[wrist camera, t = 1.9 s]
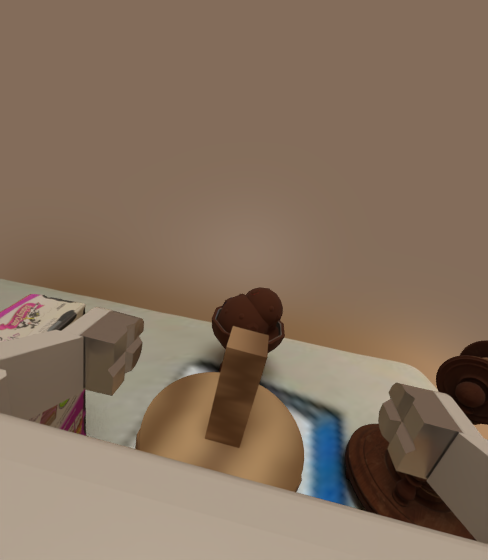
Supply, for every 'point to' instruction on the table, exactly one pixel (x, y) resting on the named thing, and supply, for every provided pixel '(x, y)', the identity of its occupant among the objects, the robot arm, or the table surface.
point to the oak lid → (228, 420)
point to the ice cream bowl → (250, 316)
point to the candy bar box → (38, 319)
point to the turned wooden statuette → (407, 488)
